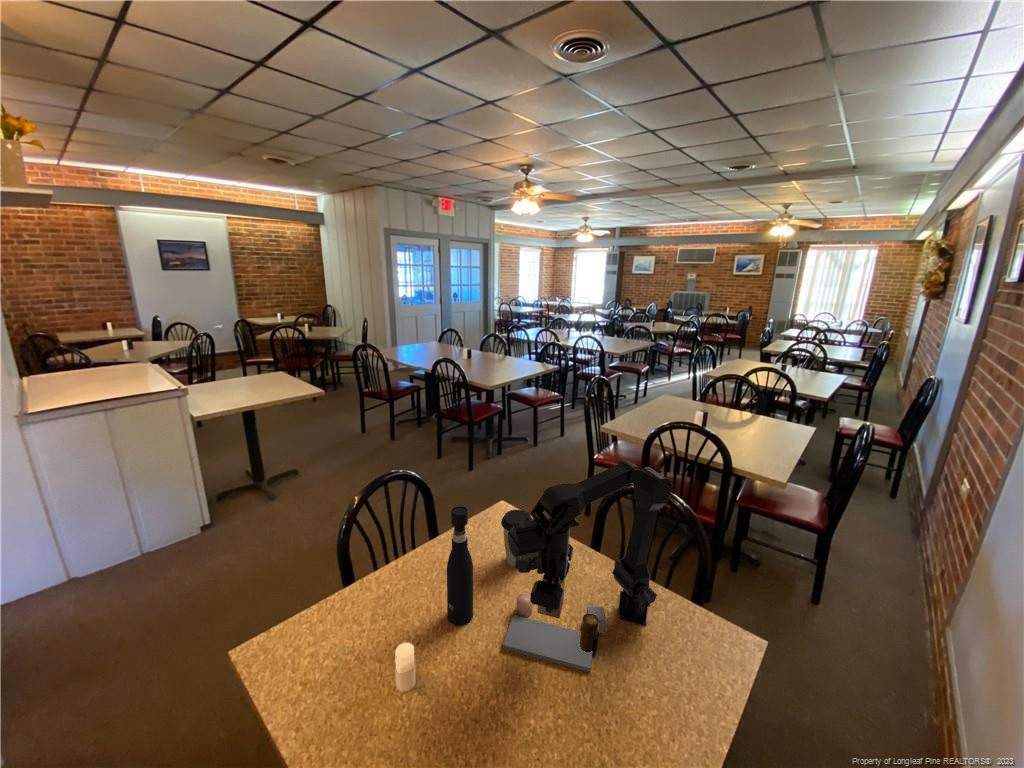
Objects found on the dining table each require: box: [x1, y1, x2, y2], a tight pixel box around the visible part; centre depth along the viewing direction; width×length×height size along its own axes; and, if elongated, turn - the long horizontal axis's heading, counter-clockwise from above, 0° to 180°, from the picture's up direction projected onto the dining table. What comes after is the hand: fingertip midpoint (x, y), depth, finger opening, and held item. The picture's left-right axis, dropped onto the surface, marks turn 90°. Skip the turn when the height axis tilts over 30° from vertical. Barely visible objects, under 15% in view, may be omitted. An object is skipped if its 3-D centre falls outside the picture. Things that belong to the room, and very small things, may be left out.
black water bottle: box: [446, 505, 474, 627], centre depth 101 cm, size 6×6×30 cm
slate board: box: [502, 614, 594, 673], centre depth 97 cm, size 20×9×1 cm, turn 74°
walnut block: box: [537, 578, 566, 619], centre depth 95 cm, size 5×5×6 cm
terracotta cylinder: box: [515, 592, 533, 619], centre depth 106 cm, size 4×4×4 cm
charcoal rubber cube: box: [586, 605, 607, 634], centre depth 102 cm, size 4×4×4 cm
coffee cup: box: [500, 509, 533, 568], centre depth 123 cm, size 9×9×15 cm
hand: (551, 603), depth 95 cm, fingers closed on walnut block, 5 cm apart
